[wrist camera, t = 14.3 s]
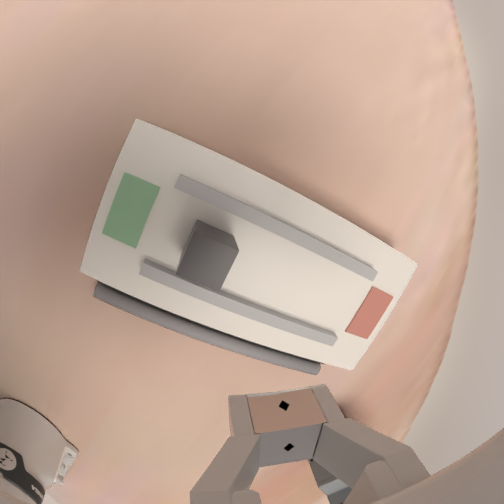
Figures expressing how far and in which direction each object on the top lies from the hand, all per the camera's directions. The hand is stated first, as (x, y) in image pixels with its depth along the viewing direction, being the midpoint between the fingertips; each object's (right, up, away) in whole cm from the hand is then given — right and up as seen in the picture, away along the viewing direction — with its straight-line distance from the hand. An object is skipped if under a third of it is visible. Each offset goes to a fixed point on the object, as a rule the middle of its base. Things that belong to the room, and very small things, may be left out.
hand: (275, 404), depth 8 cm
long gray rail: (-4, -3, +22) cm, 22 cm away
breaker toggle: (-4, +5, +14) cm, 15 cm away
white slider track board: (0, +5, +20) cm, 21 cm away
